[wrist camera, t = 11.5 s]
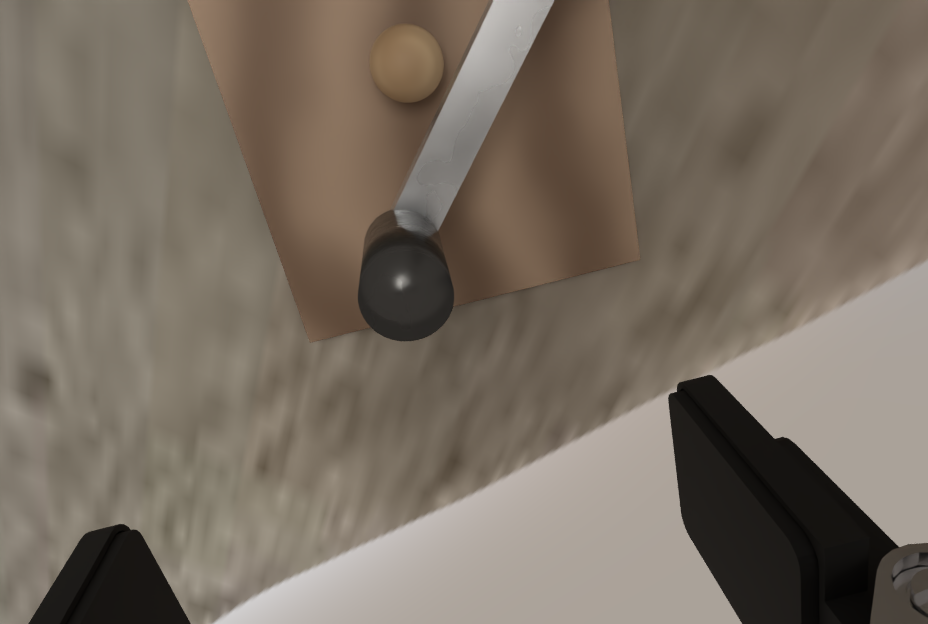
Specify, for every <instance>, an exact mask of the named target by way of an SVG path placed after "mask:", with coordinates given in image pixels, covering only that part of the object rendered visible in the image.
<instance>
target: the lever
mask: <svg viewBox="0 0 928 624" xmlns="http://www.w3.org/2000/svg"><path fill="white" fill-rule="evenodd" d="M553 2H554V0H489V2H488V4H487V6H486V8H485V10H484V12H483V14H482V16H481V18H480V21H479V23H478V25H477V27H476V29H475V31H474V33H473V35H472V37H471V40H470V42H469V44H468V46H467V48H466V50H465V52H464V54H463V56H462V59H461V61H460V63H459V65H458V67H457V69H456V71H455V73H454V75H453V77H452V80H451V82H450V84H449V86H448V88H447V90H446V92H445V94H444V96H443V99H442V101H441V103H440V105H439V107H438V109H437V111H436V113H435V115H434V118H433V120H432V122H431V124H430V126H429V128H428V130H427V132H426V134H425V137H424V139H423V141H422V143H421V145H420V147H419V149H418V151H417V153H416V155H415V158H414V160H413V162H412V164H411V166H410V168H409V170H408V172H407V174H406V177H405V179H404V181H403V183H402V185H401V187H400V189H399V191H398V193H397V196H396V198H395V200H394V202H393V204H392V206H391V208H390V210H389V211H386V212H384V213H383V214H381V215H379V216H378V217H377V218H376V219H375V220H374V221H373V222H372V223H371V225H370V226H369V228H368V230H367V232H366V235H365V239H364V247H363V255H362V263H361V271H360V280H359V288H358V304H359V309H360V312H361V314H362V316H363V318H364V320H365V321H366V322H367V324H368V325H369V326H370V327H371V328H372V329H373V330H374V331H376V332H377V333H379V334H380V335H382V336H384V337H386V338H389V339H392V340H397V341H414V340H419V339H422V338H425V337H427V336H429V335H431V334H433V333H434V332H436V331H437V330H438V329H439V328H440V327H441V326H442V325H443V324H444V323H445V322H446V320H447V319H448V317H449V315H450V313H451V311H452V308H453V304H454V288H453V284H452V280H451V277H450V273H449V269H448V265H447V261H446V258H445V254H444V250H443V246H442V243H441V239H440V235H439V232H438V230H439V228H440V226H441V224H442V222H443V220H444V218H445V216H446V214H447V212H448V210H449V208H450V206H451V204H452V202H453V200H454V198H455V196H456V194H457V192H458V190H459V188H460V186H461V184H462V182H463V181H464V179H465V177H466V175H467V173H468V171H469V169H470V167H471V165H472V163H473V161H474V159H475V157H476V155H477V153H478V151H479V149H480V147H481V145H482V143H483V141H484V139H485V137H486V135H487V133H488V131H489V129H490V127H491V125H492V123H493V121H494V119H495V117H496V115H497V113H498V111H499V109H500V107H501V105H502V103H503V101H504V99H505V97H506V95H507V93H508V91H509V89H510V87H511V85H512V83H513V81H514V79H515V77H516V75H517V73H518V71H519V69H520V67H521V66H522V64H523V62H524V60H525V58H526V56H527V54H528V52H529V50H530V48H531V46H532V44H533V42H534V40H535V38H536V36H537V34H538V32H539V30H540V28H541V26H542V24H543V22H544V20H545V18H546V16H547V14H548V12H549V10H550V8H551V6H552V4H553Z"/></svg>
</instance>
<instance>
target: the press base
mask: <svg viewBox="0 0 928 624" xmlns="http://www.w3.org/2000/svg"><path fill="white" fill-rule="evenodd" d="M488 2H489V0H188V3H189V6H190V8H191V11H192V14H193V17H194V19H195V22H196V25H197V28H198V31H199V33H200V36H201V39H202V42H203V45H204V47H205V50H206V53H207V56H208V59H209V61H210V64H211V67H212V70H213V73H214V75H215V78H216V81H217V84H218V87H219V89H220V92H221V95H222V98H223V101H224V103H225V106H226V109H227V112H228V115H229V117H230V120H231V123H232V126H233V129H234V131H235V134H236V137H237V140H238V143H239V145H240V148H241V151H242V154H243V157H244V159H245V162H246V165H247V168H248V170H249V173H250V176H251V179H252V182H253V184H254V187H255V190H256V193H257V196H258V198H259V201H260V204H261V207H262V210H263V212H264V215H265V218H266V221H267V224H268V226H269V229H270V232H271V235H272V238H273V240H274V243H275V246H276V249H277V252H278V254H279V257H280V260H281V263H282V266H283V268H284V271H285V274H286V277H287V280H288V282H289V285H290V288H291V291H292V294H293V296H294V299H295V302H296V305H297V308H298V310H299V313H300V316H301V319H302V322H303V324H304V327H305V330H306V333H307V335H308V338H309V341H310V343H311V342H315V341H319V340H323V339H327V338H331V337H335V336H338V335H342V334H346V333H350V332H354V331H358V330H362V329H366V328H370V326H369V325H368V324H367V322H366V321H365V320H364V318H363V316H362V314H361V312H360V309H359V304H358V288H359V280H360V271H361V263H362V255H363V247H364V239H365V235H366V232H367V230H368V228H369V226H370V225H371V223H372V222H373V221H374V220H375V219H376V218H377V217H378V216H379V215H381V214H383V213H384V212H386V211H389V210H390V208H391V206H392V204H393V202H394V200H395V198H396V196H397V193H398V191H399V189H400V187H401V185H402V183H403V181H404V179H405V177H406V174H407V172H408V170H409V168H410V166H411V164H412V162H413V160H414V158H415V155H416V153H417V151H418V149H419V147H420V145H421V143H422V141H423V139H424V137H425V134H426V132H427V130H428V128H429V126H430V124H431V122H432V120H433V118H434V115H435V113H436V111H437V109H438V107H439V105H440V103H441V101H442V99H443V96H444V94H445V92H446V90H447V88H448V86H449V84H450V82H451V80H452V77H453V75H454V73H455V71H456V69H457V67H458V65H459V63H460V61H461V59H462V56H463V54H464V52H465V50H466V48H467V46H468V44H469V42H470V40H471V37H472V35H473V33H474V31H475V29H476V27H477V25H478V23H479V21H480V18H481V16H482V14H483V12H484V10H485V8H486V6H487V4H488ZM438 232H439V235H440V239H441V243H442V246H443V250H444V254H445V258H446V261H447V265H448V269H449V273H450V277H451V280H452V284H453V288H454V304H453V307H454V306H458V305H462V304H466V303H470V302H474V301H478V300H482V299H486V298H490V297H494V296H498V295H502V294H506V293H510V292H514V291H518V290H522V289H526V288H530V287H534V286H538V285H542V284H546V283H550V282H554V281H558V280H562V279H566V278H570V277H574V276H578V275H582V274H586V273H589V272H593V271H597V270H601V269H605V268H609V267H613V266H617V265H621V264H625V263H629V262H633V261H637V260H640V253H639V244H638V236H637V228H636V220H635V212H634V204H633V195H632V187H631V179H630V171H629V163H628V154H627V146H626V138H625V130H624V122H623V113H622V105H621V97H620V89H619V81H618V73H617V64H616V56H615V48H614V40H613V32H612V23H611V15H610V7H609V0H554V2H553V4H552V6H551V8H550V10H549V12H548V14H547V16H546V18H545V20H544V22H543V24H542V26H541V28H540V30H539V32H538V34H537V36H536V38H535V40H534V42H533V44H532V46H531V48H530V50H529V52H528V54H527V56H526V58H525V60H524V62H523V64H522V66H521V67H520V69H519V71H518V73H517V75H516V77H515V79H514V81H513V83H512V85H511V87H510V89H509V91H508V93H507V95H506V97H505V99H504V101H503V103H502V105H501V107H500V109H499V111H498V113H497V115H496V117H495V119H494V121H493V123H492V125H491V127H490V129H489V131H488V133H487V135H486V137H485V139H484V141H483V143H482V145H481V147H480V149H479V151H478V153H477V155H476V157H475V159H474V161H473V163H472V165H471V167H470V169H469V171H468V173H467V175H466V177H465V179H464V181H463V182H462V184H461V186H460V188H459V190H458V192H457V194H456V196H455V198H454V200H453V202H452V204H451V206H450V208H449V210H448V212H447V214H446V216H445V218H444V220H443V222H442V224H441V226H440V228H439V230H438Z"/></svg>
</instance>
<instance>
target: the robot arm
mask: <svg viewBox="0 0 928 624" xmlns="http://www.w3.org/2000/svg"><path fill="white" fill-rule="evenodd" d="M668 399H669V410H670V419H671V428H672V437H673V445H674V454H675V463H676V472H677V480H678V489H679V498H680V507H681V514H682V519H683V522H684V525H685V528H686V530H687V533H688V535H689V536H690V538H691V540H692V541H693V543H694V545H695V546H696V548H697V550H698V551H699V553H700V555H701V556H702V558H703V560H704V561H705V563H706V565H707V566H708V568H709V569H710V571H711V573H712V574H713V576H714V578H715V579H716V581H717V582H718V584H719V586H720V588H721V589H722V591H723V593H724V594H725V596H726V598H727V599H728V601H729V602H730V604H731V606H732V608H733V609H734V611H735V612H736V614H737V616H738V617H739V619H740V621H741V622H742V624H928V543H922V544H908V545H905V546H902V547H898V546H897V545H896V544H895V543H894V542H893V541H892V540H891V539H890V538H889V537H888V536H887V535H886V534H885V533H884V532H883V531H882V530H881V529H880V528H879V527H878V526H877V525H876V524H875V523H874V522H873V521H872V520H871V519H870V518H869V517H868V516H867V515H866V514H865V513H864V512H863V511H862V510H861V509H860V508H859V507H858V506H857V505H856V504H855V503H854V502H853V501H852V500H851V499H850V498H849V497H848V496H847V495H846V494H845V493H844V492H843V491H842V490H841V489H840V488H839V487H838V486H837V485H836V484H835V483H834V482H833V481H832V480H831V479H830V478H829V477H828V476H827V475H826V474H825V473H824V472H823V471H822V470H821V469H820V468H819V467H818V466H817V465H816V464H815V463H814V462H813V461H812V460H811V459H810V458H809V457H808V456H807V455H806V454H805V453H804V452H803V451H802V450H801V449H800V448H799V447H798V446H797V445H796V444H795V443H793V442H792V441H791V440H790V439H788V438H784V437H781V438H777V439H774V438H773V437H772V436H771V435H770V434H769V433H768V432H767V431H766V430H765V429H764V428H763V426H762V425H761V424H760V423H759V422H758V421H757V420H756V419H755V418H754V417H753V416H752V415H751V414H750V413H749V412H748V411H747V410H746V409H745V408H744V407H743V406H742V405H741V404H740V403H739V402H738V401H737V400H736V399H735V397H734V396H733V395H732V394H731V393H730V392H729V391H728V390H727V389H726V388H725V387H724V386H723V385H722V384H721V383H720V382H719V381H718V380H717V379H716V378H715V377H714V376H712V375H707V376H704V377H700V378H696V379H692V380H688V381H684V382H680V383H679V384H678V386H677V392H675V393H671V394H670V395H669V398H668ZM29 624H190V622H189V620H188V618H187V616H186V614H185V613H184V611H183V609H182V607H181V605H180V604H179V602H178V600H177V598H176V596H175V594H174V593H173V591H172V589H171V587H170V585H169V584H168V582H167V580H166V578H165V576H164V574H163V573H162V571H161V569H160V567H159V565H158V564H157V562H156V560H155V558H154V556H153V555H152V553H151V551H150V549H149V547H148V545H147V544H146V542H145V540H144V538H143V536H142V535H141V533H140V532H139V531H137V530H130V528H129V527H127V526H126V525H124V524H119V525H115V526H111V527H107V528H103V529H99V530H95V531H91V532H88V533H86V534H85V535H84V536H83V537H82V538H81V540H80V541H79V543H78V545H77V546H76V548H75V549H74V551H73V553H72V554H71V556H70V557H69V559H68V561H67V562H66V564H65V566H64V567H63V569H62V570H61V572H60V574H59V575H58V577H57V578H56V580H55V582H54V583H53V585H52V587H51V588H50V590H49V591H48V593H47V595H46V596H45V598H44V600H43V601H42V603H41V604H40V606H39V608H38V609H37V611H36V612H35V614H34V616H33V617H32V619H31V621H30V622H29Z"/></svg>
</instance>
